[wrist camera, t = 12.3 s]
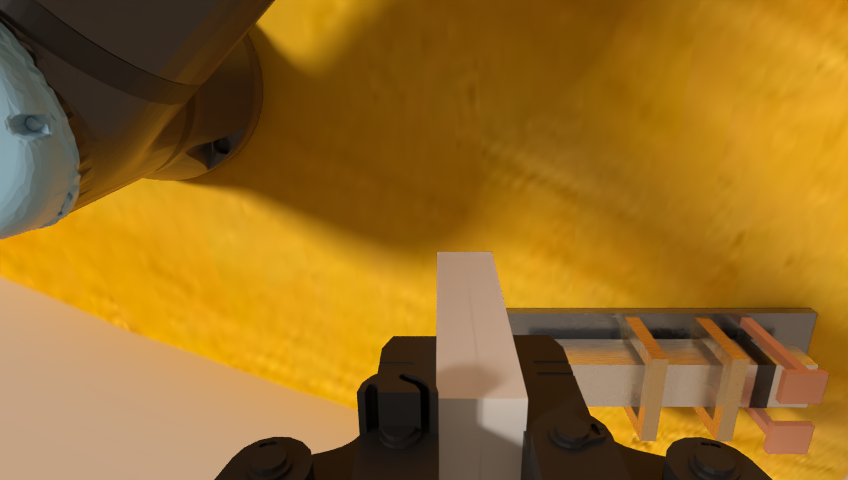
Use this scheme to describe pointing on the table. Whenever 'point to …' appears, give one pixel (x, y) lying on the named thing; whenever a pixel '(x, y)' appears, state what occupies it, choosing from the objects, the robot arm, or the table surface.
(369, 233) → the table surface
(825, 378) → the aperture gantry
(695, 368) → the pale grey bar
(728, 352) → the rail
